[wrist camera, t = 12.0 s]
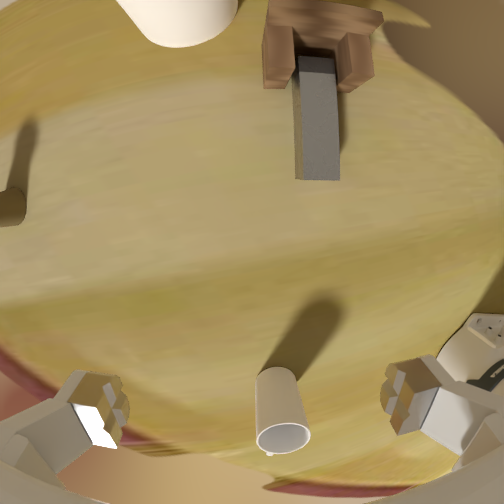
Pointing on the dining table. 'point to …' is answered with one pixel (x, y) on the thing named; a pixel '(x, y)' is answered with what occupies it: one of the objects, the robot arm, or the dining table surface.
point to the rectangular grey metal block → (315, 119)
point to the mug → (279, 412)
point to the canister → (180, 19)
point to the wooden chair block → (318, 40)
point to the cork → (12, 207)
